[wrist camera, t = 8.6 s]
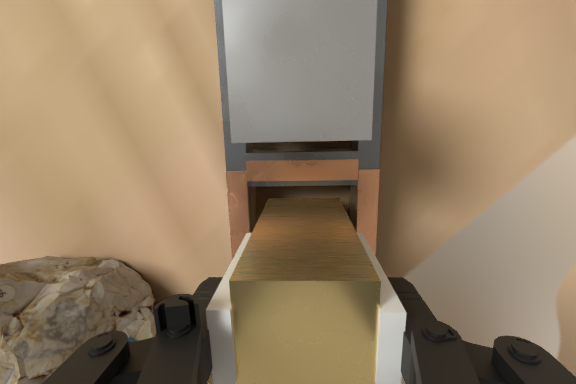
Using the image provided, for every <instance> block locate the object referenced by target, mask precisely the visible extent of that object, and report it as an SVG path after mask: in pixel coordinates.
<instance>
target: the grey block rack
mask: <svg viewBox="0 0 576 384" xmlns="http://www.w3.org/2000/svg"><path fill="white" fill-rule="evenodd" d="M214 3H215V17H216V31H217V45H218V60H219V74H220V88H221V102H222V116H223V130H224V144H225V158H226V179H227V193H228V206H229V220H230V234H231V248H232V260H233V258H234V256H235V254H236V252H237V250H238V248H239V246H240V245H241V243H242V241H243V239H244V237H245V235H246V233H252V232H253V230H254V228H255V225H256V223H257V215H256V195H255V186H332V185H350V207H349V219H350V221H351V223H352V225H353V227H354V229H355V231H356V232H362V233H363V235H364V237H365V238H366V240H367V242H368V244H369V246H370V247H371V249H372V251H373V253H374V255H375V256H376V238H377V217H378V196H379V175H380V169H379V165H380V144H381V123H382V102H383V81H384V60H385V39H386V18H387V0H377V22H376V46H375V71H374V95H373V120H372V140H353V141H351V148H322V149H271V150H253V143H231V129H230V114H229V99H228V84H227V69H226V54H225V39H224V24H223V9H222V0H214Z"/></svg>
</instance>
